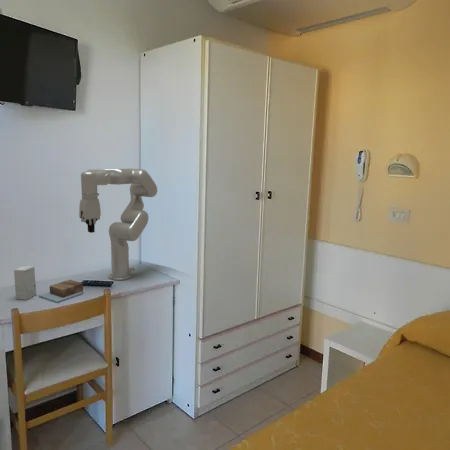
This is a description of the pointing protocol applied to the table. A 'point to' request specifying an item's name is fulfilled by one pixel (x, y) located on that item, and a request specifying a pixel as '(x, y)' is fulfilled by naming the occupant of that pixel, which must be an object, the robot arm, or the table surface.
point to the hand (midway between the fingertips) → (91, 232)
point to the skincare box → (25, 282)
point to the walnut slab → (66, 288)
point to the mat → (57, 298)
